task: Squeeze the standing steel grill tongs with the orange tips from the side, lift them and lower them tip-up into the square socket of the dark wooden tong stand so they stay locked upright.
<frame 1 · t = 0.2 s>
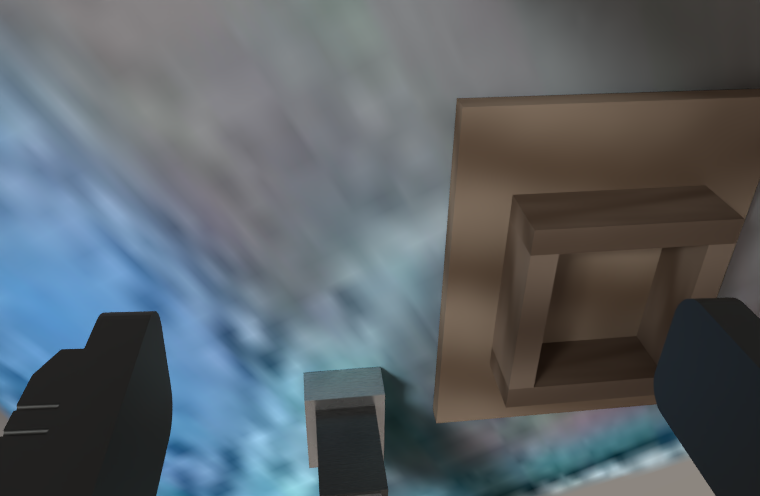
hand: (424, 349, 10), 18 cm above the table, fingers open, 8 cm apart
tongs: (343, 403, 35), on the table
tong stand: (582, 269, 32), on the table
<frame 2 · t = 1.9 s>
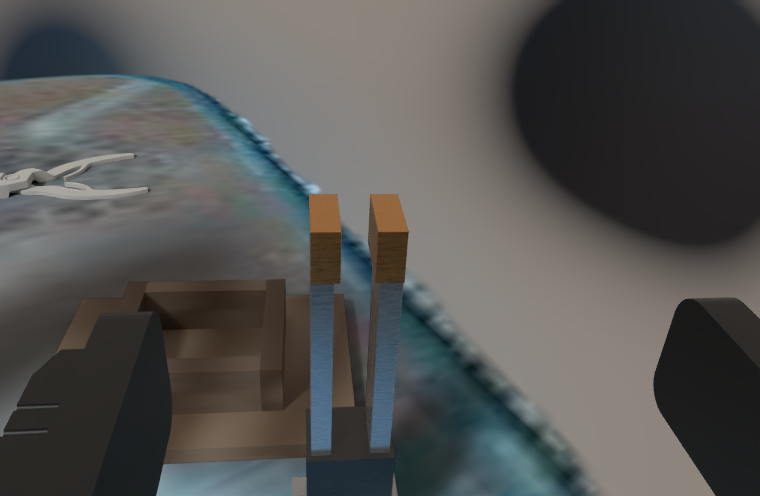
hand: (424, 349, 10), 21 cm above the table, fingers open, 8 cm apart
pliers: (59, 189, 63), on the table
tong stand: (204, 373, 41), on the table
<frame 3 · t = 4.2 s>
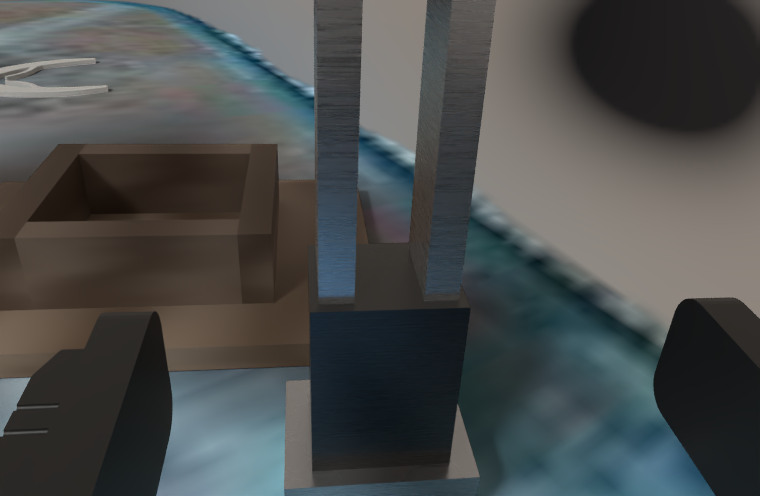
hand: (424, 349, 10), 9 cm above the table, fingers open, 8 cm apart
tongs: (372, 474, 19), on the table
pliers: (0, 90, 51), on the table
tong stand: (163, 267, 29), on the table
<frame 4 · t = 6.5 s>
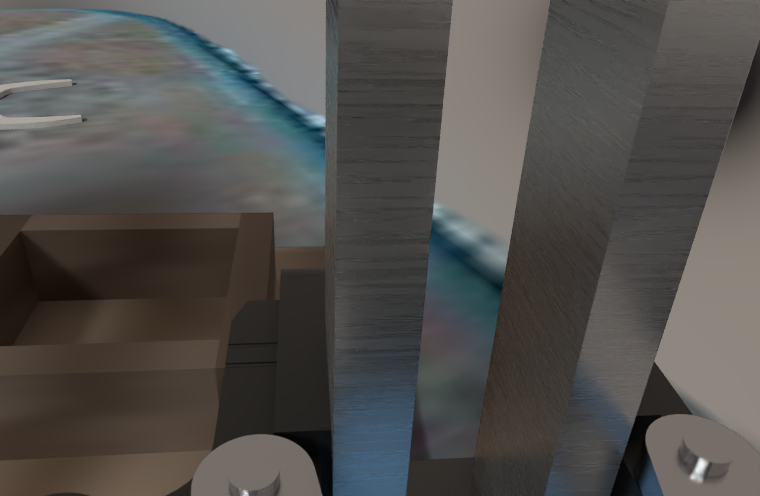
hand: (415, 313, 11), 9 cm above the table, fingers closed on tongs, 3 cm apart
tong stand: (127, 376, 22), on the table
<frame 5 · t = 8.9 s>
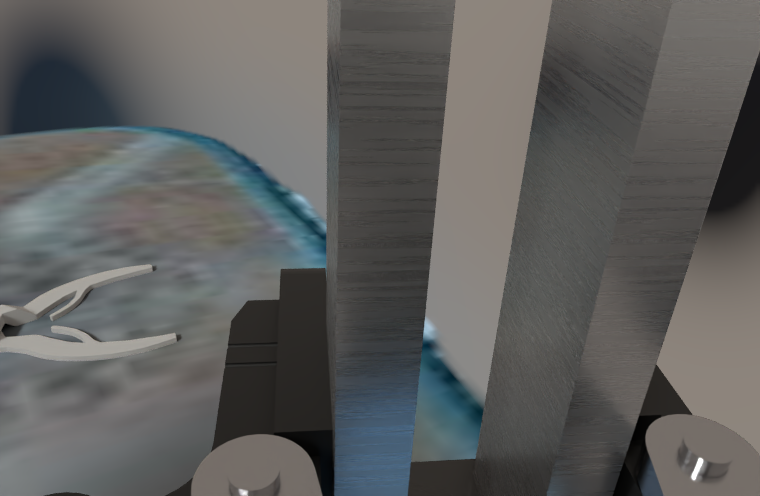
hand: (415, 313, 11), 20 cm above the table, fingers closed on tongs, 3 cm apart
pliers: (44, 334, 42), on the table
when the fingers open (11 cm above the table, at t = 11.5 s): tongs drops 1 cm, resting on tong stand.
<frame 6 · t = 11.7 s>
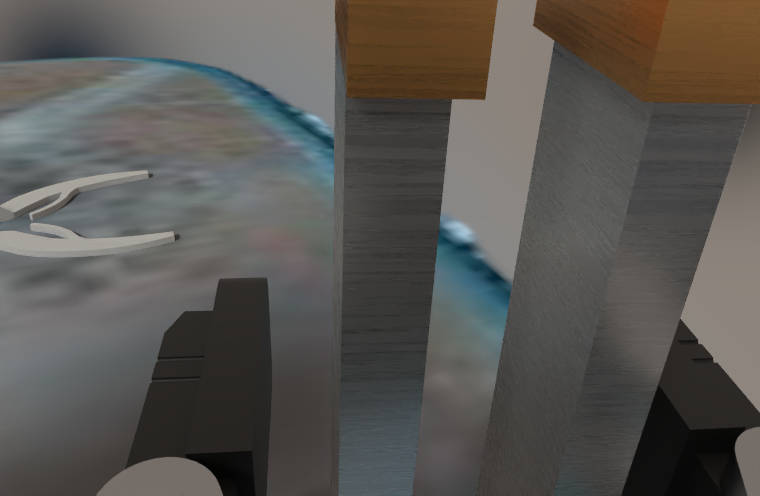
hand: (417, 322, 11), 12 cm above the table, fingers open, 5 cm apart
pliers: (22, 235, 36), on the table
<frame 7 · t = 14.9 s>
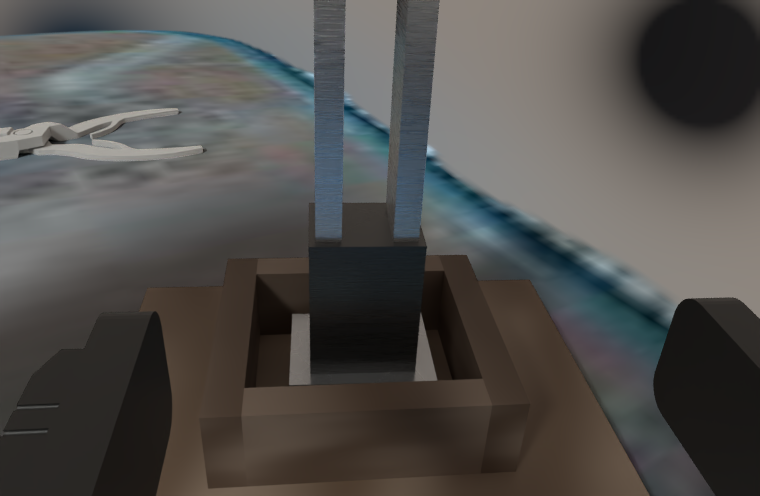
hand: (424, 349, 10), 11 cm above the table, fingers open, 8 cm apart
tongs: (358, 387, 25), point 1 cm above the table, touching tong stand
pliers: (85, 149, 47), on the table
tong stand: (355, 404, 25), on the table
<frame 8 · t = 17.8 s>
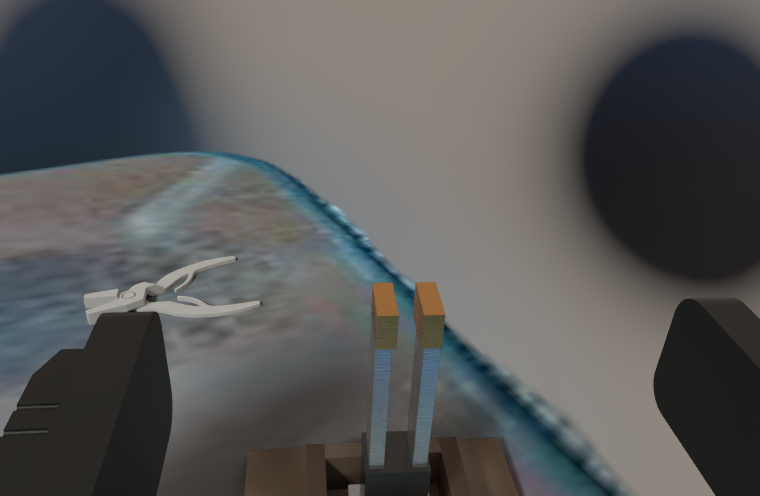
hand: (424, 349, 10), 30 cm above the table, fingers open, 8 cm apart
pliers: (171, 302, 63), on the table
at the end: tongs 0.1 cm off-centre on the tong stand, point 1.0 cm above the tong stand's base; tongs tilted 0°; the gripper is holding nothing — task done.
